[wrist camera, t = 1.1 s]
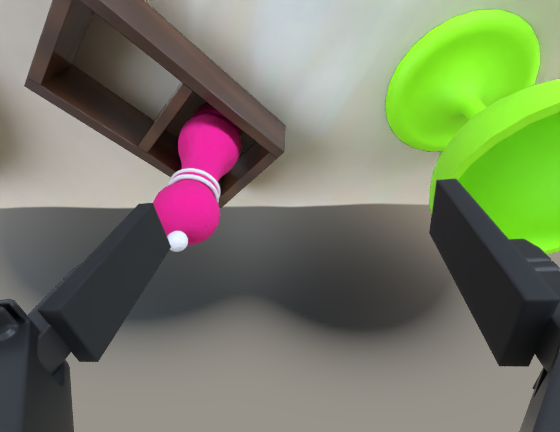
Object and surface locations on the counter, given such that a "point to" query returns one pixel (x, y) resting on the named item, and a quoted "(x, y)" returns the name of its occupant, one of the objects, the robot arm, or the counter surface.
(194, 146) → the pepper mill
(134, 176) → the counter surface
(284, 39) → the counter surface
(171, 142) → the caddy
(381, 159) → the counter surface
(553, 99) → the wineglass
